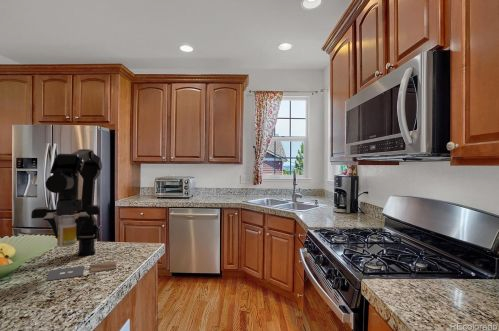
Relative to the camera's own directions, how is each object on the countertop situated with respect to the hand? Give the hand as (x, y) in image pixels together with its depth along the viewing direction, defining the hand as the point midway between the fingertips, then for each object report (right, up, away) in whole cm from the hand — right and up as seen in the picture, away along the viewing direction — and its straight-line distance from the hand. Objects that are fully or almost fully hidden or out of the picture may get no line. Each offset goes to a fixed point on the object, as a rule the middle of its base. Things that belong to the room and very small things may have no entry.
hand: (67, 236), depth 92 cm
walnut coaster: (+9, -12, +6) cm, 16 cm away
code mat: (0, -12, 0) cm, 12 cm away
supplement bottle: (0, -3, 0) cm, 3 cm away
